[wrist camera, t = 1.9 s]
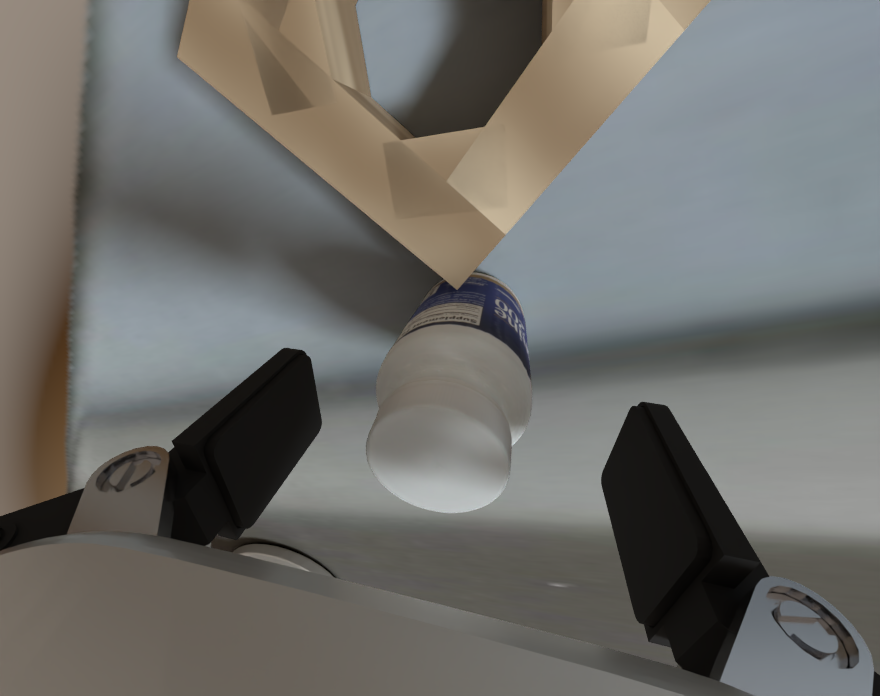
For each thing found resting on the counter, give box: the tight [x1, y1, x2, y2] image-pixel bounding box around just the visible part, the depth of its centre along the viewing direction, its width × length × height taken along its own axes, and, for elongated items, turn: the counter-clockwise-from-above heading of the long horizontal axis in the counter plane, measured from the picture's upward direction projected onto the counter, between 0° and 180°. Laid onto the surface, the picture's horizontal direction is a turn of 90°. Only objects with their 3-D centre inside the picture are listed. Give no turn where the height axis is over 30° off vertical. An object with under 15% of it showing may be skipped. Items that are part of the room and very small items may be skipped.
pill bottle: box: [366, 272, 532, 513], centre depth 13 cm, size 5×5×10 cm
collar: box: [177, 0, 711, 290], centre depth 11 cm, size 12×12×4 cm
